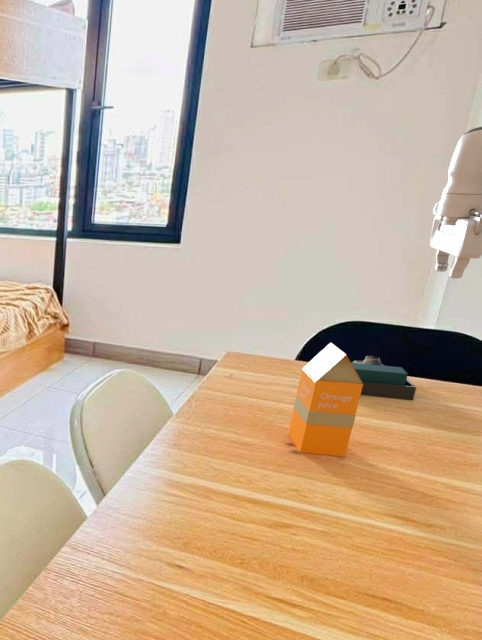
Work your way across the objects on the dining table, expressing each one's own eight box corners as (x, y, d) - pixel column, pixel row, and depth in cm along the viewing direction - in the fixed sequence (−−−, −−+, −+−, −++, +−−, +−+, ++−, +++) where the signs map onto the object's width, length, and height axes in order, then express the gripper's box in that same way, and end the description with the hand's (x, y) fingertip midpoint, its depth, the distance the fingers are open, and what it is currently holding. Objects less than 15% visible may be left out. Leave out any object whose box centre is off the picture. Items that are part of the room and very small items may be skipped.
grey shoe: (375, 379, 159) (379, 363, 158) (346, 367, 169) (350, 352, 167) (395, 379, 159) (399, 363, 158) (365, 367, 169) (368, 352, 168)
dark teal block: (396, 386, 152) (401, 367, 151) (402, 394, 148) (407, 373, 146) (337, 381, 157) (342, 361, 155) (341, 387, 152) (346, 368, 151)
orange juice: (299, 452, 120) (321, 352, 114) (287, 434, 128) (307, 340, 122) (346, 457, 118) (371, 355, 111) (331, 438, 126) (354, 342, 119)
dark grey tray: (401, 387, 154) (404, 375, 153) (412, 400, 145) (416, 387, 144) (323, 379, 160) (326, 368, 159) (330, 391, 152) (333, 379, 151)
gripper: (506, 211, 121) (484, 283, 125) (467, 205, 138) (450, 268, 143) (464, 211, 123) (444, 281, 128) (432, 205, 141) (415, 267, 145)
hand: (447, 274), depth 135 cm, fingers open, 8 cm apart
